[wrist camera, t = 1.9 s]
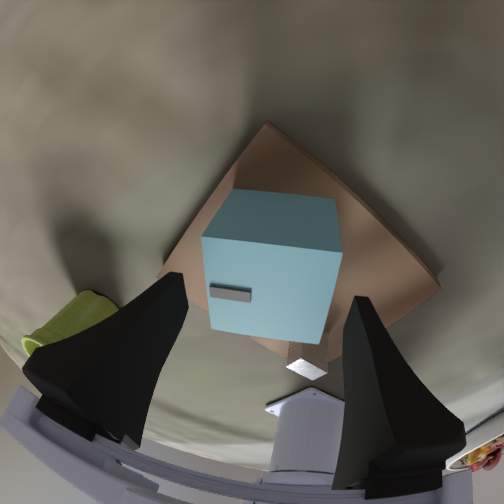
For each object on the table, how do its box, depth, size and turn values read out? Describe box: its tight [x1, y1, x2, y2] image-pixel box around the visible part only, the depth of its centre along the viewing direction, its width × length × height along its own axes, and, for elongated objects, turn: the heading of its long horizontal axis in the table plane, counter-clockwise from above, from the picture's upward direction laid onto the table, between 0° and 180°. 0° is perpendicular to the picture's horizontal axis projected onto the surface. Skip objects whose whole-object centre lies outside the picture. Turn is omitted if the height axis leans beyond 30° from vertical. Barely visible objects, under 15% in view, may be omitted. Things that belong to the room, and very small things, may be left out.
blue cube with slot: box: [201, 189, 343, 344], centre depth 14 cm, size 5×5×5 cm
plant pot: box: [21, 290, 119, 357], centre depth 23 cm, size 9×9×9 cm
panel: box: [157, 121, 441, 363], centre depth 18 cm, size 15×13×1 cm
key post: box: [286, 330, 329, 381], centre depth 19 cm, size 2×1×4 cm, turn 54°
